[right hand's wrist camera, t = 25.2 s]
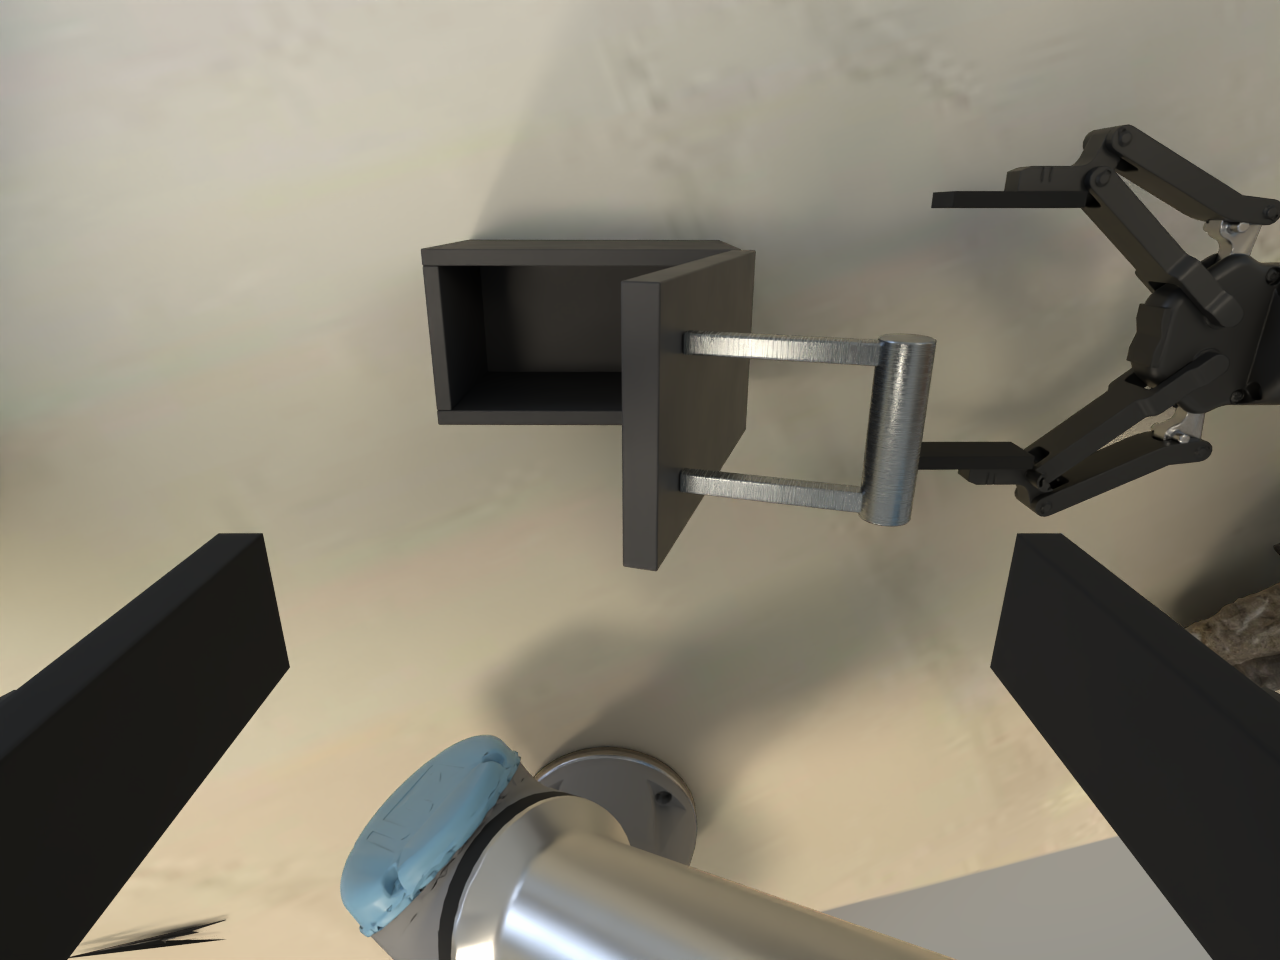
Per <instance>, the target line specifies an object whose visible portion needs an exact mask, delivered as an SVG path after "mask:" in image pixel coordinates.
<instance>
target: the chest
mask: <svg viewBox="0 0 1280 960" xmlns="http://www.w3.org/2000/svg"><path fill="white" fill-rule="evenodd" d="M731 250H741V249H738V248H736V247H734V246H731V245H729V244H727V243H724V242H722V241H720V240H466V241H460V242H455V243H450V244H445V245H439V246H434V247H429V248H424V249H421V256H422V265H423V275H424V285H425V294H426V304H427V314H428V324H429V334H430V344H431V354H432V364H433V374H434V384H435V394H436V404H437V410H438V411H437V415H438V424H439V425H622V347H621V282H622V281H624V280H627V279H631V278H635V277H638V276H642V275H645V274H649V273H653V272H656V271H660V270H663V269H667V268H670V267H674V266H678V265H681V264H685V263H688V262H692V261H695V260H699V259H703V258H706V257H710V256H713V255H717V254H720V253H724V252H728V251H731Z"/></svg>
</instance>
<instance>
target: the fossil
mask: <svg viewBox="0 0 1280 960" xmlns="http://www.w3.org/2000/svg"><path fill="white" fill-rule="evenodd" d="M1274 549H1275V551H1276V552H1277V553H1278V554H1279V555H1280V543H1279V544H1277V545H1274ZM1184 629H1185V630H1187V631H1188V632H1189V633H1191V634H1192V635H1193V636H1194V637H1196V638H1197V639H1198V640H1200V641H1201V642H1202V643H1203V644H1205V645H1206V646H1207V647H1209V648H1210V649H1211V650H1212V651H1214V652H1215V653H1216V654H1218V655H1219V656H1220V657H1221V658H1223V659H1224V660H1225V661H1227V662H1228V663H1229V664H1231V665H1232V666H1233V667H1234V668H1236V669H1237V670H1238V671H1240V672H1241V673H1242V674H1243V675H1245V676H1246V677H1247V678H1249V679H1250V680H1251V681H1252V682H1254V683H1255V684H1256V685H1258V686H1259V687H1267V688H1269V689H1271V690H1273V691H1276V690H1280V583H1278V584H1276V585H1273V586H1271V587H1269V588H1267V589H1265V590H1262V591H1260V592H1258V593H1254V594H1250V595H1248V596H1246V597H1244V598H1238V599H1237V600H1236V601H1235V602H1234V603H1231V604H1227V605H1225V606H1224V607H1222V608H1221V610H1220V611H1219V612H1218V613H1217V614H1215V615H1214V616H1212V617H1211V618H1209V619H1205V620H1200V622H1195V623H1193V624H1192V625H1190V626H1189V627H1187V628H1184Z"/></svg>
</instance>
